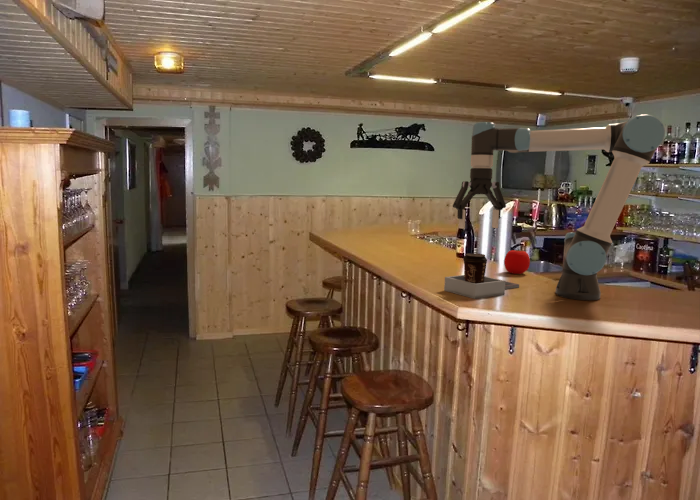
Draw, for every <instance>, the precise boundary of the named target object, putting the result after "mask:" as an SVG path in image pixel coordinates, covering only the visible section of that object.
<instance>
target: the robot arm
mask: <svg viewBox="0 0 700 500" xmlns="http://www.w3.org/2000/svg"><path fill="white" fill-rule="evenodd" d="M471 131H472V132H471V147H470V148H471V152H470V153H471V154H470V155H471V156H470V167H471V168H470V173H469V178H470V179H469V180H470V181H467V180H465V181H464V180H463V181H462V182H461V187H460V190H459V192H458V194H457V195H456V197H455V200H454V202H453V204H452V207H453V208H454V209H456V210H457V219H458V229H462V230H464V229H466V210H465V208H466V207H467V205H468V204H469V202H470V201H471V200H472V199H473V198H474V196H476V195H485V196H486V197H487V199H488V200H489V202H490V204H491V205H492V206H493V208H494V209H492V217H491V219H492V220H491V228H493V229H498V228H499V220H500V219H501V214H502V212H501V211H502V210H503V209H504V208H505V209H506V207H507V204H506V202H505V200H504V197H503V193H502V192H501V188H500V182H499V181H493V182H492V179H493V168H492V167H493V166H494V151H507V152H508V153H510V154H518V153H530V152H559V151H560V152H563V151H564V152H566V151H593V150H594V151H595V150H604V151H605V152H606V153H612V154H613V158H614V159H613V161H612V163H611V164H610V167H609V169H608V172H607V174H606V176H605V179H604V181H603V182H602V185H601V188H600V190H599V192H598V194H597V196H596V198H595V201H594V203H593V205H592V207H591V210H590V211H589V214H588V216H587V218H586V220H585V223H584V225H583V226H581V227H579V228H577V229H576V231H575V232H567V233H566V234H565V237H564V241H563V242H564V247H563V259H562V270H561V275H560V278H559V280H558V282H557V285H556V286H555V291H554V293H555V294H556V295H557V296H559V297H561V298H565V299H569V300H577V301H578V300H579V301H597V300H600V299H601V293H602V291H601V289H600V284H599V281H598V273H599V272H600V271H601V270H602V269H603V268H604V266H605V264H606V262H607V255H608V253H609V250H610V248H611V246H612V244H613V240H612V238H611V234H612V232H613V230H614V227H615V225H616V224H617V221H618V219H619V217H620V215H621V213H622V211H623V208H624V207H625V204H626V202H627V199H628V198H629V195H630V193H631V191H632V188H633V186H634V184H635V183H636V181H637V178H638V176H639V174H640V172H641V170H642V168H643V167H644V166H646V165H648V164H650V162H651V161H652V158H653V156H654V154H655V152H656V150H657V149H658V148H659V147H660V146H661V145H662V143H663V141H664V138H665V135H666V131H665V126H664V124H663V122H662V121H661V120H660V119H659V118H658V117H656V116H654V115H651V114H637V115H635V116H633V117H630V118H629V119H628V120H626V121H623V122H618V123H608V124H607V125H606V126H603V127H585V128H583V127H582V128H559V129H540V130H531V129H530V128H529V127H527V128H526V127H510V128H507V127H506V128H505V127H504V128H497V127H496V124H495V122H489V121H487V122H486V121H479V122H475V123H474V124H473V125H472V130H471ZM469 188H470V189H469ZM491 188H492V190H491ZM468 189H469V190H468Z"/></svg>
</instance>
